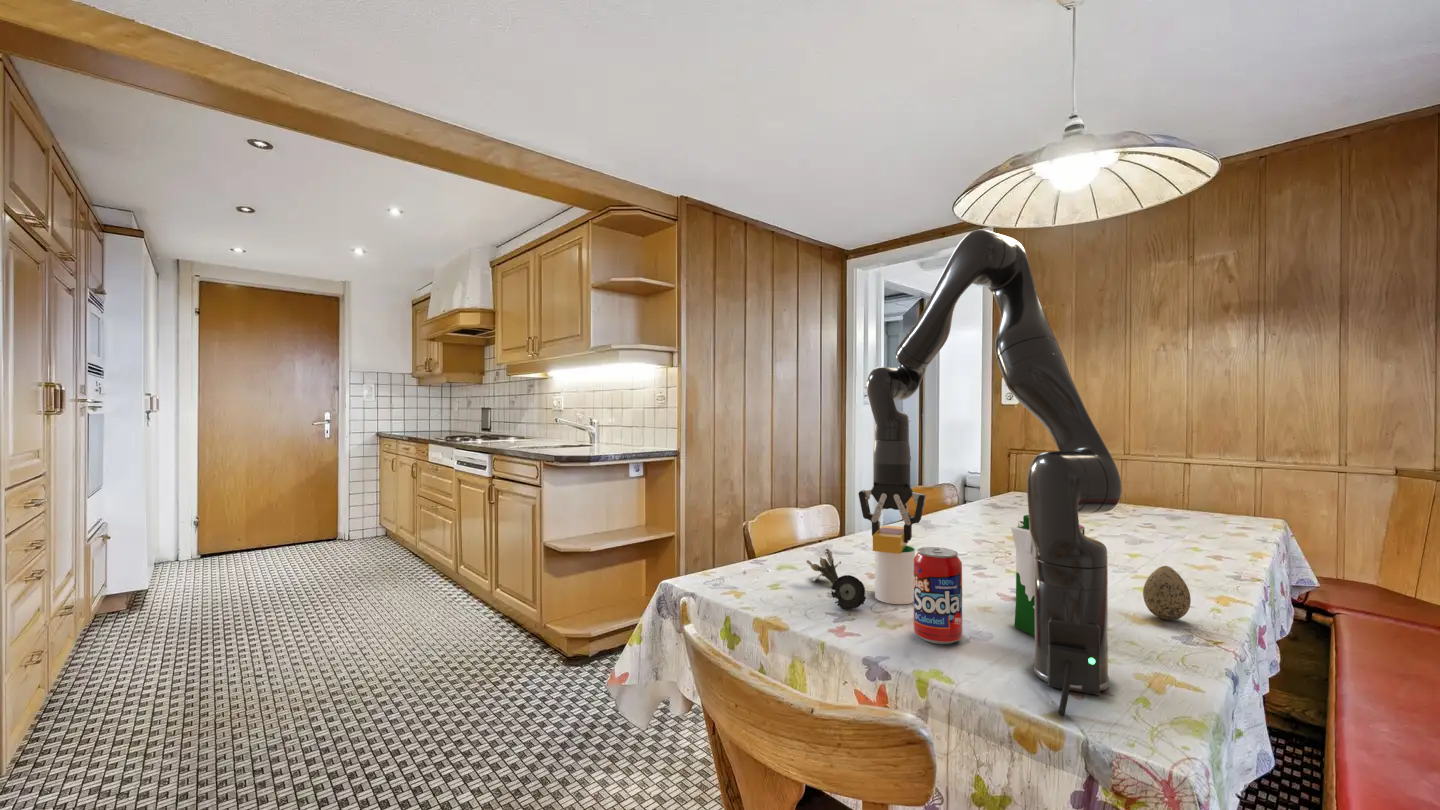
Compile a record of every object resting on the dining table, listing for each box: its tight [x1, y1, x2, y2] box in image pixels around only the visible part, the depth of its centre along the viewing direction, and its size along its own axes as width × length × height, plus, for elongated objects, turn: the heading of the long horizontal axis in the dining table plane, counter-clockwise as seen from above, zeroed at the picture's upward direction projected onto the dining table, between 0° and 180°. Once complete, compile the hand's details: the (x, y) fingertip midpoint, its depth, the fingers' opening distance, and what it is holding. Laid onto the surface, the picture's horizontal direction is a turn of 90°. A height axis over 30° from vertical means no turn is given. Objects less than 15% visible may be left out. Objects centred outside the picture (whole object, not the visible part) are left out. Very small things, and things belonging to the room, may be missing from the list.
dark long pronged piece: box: [805, 548, 867, 611], centre depth 128 cm, size 9×22×10 cm, turn 179°
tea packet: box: [872, 524, 910, 554], centre depth 125 cm, size 12×6×3 cm, turn 155°
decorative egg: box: [1142, 565, 1192, 621], centre depth 111 cm, size 7×7×10 cm
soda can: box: [913, 546, 963, 645], centre depth 102 cm, size 8×8×15 cm
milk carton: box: [1010, 514, 1035, 637], centre depth 105 cm, size 9×9×20 cm
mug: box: [874, 544, 916, 605], centre depth 126 cm, size 12×8×10 cm
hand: (891, 540), depth 126 cm, fingers closed on tea packet, 5 cm apart
